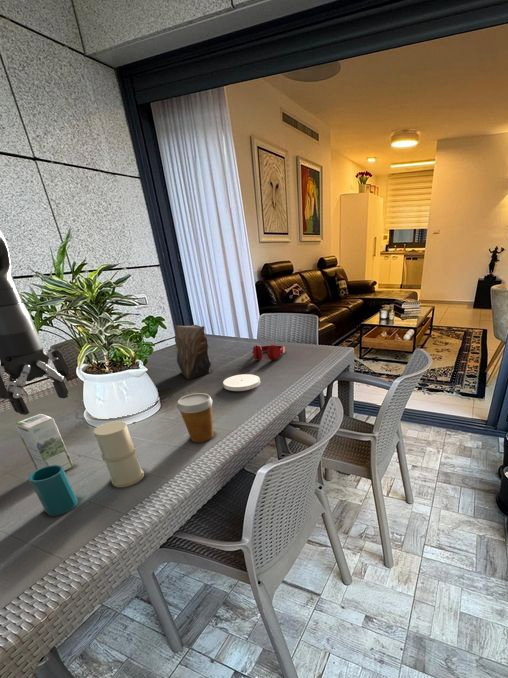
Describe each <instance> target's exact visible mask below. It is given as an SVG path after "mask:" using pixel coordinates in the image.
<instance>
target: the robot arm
mask: <svg viewBox="0 0 508 678" xmlns="http://www.w3.org/2000/svg"><path fill="white" fill-rule="evenodd" d="M49 361H51V362H52V364H53V366H54V368H52V367H50V366H49ZM66 361H67V360H66V358H65V357H64V354H63V352H62V350H60V349H52V348H51V349H48V351H47V352H45V351H44V345H43V343H42V340H41V337H40V336H39V333H38V330H37V328H36V325H35V323H34V320H33V318H32V315H31V314H30V311H29V310H28V308H27V307H26V305H25V303H24V301H23V297H22V296H21V293H20V290H19V288H18V286H17V284H16V282H15V279H14V276H13V267H12V261H11V256H10V251H9V246H8V243H7V240H6V237H5V234H4V232H3V231H2V230H1V228H0V399H2V400H9V402H10V405H11V406H12V408H13V410H14V412H16V413H17V414H20V415H23V416H27V415H29V414H30V411H29V408H28V406H27V405H26V401H24V398H23V396H21V393H22V390H23V389H24V388H25V386H26V383H27V382H32V381H34V380H35V379H40V378H43V377H44V376H45V377H46V378H48V379H49V380H52V382H51V383H52V385H53V387H54V389H55V392H56V395H57V397H58V398H60V399H67V398H69V390H68V387H67V385H66V383H65V379H66V378H67V377H70V376H71V375H72V372H71V370H70V368H69V366H68V362H66ZM4 373H5V374H7V379H6V383H5V382H4V380H3V377H4ZM5 384H6V385H5Z"/></svg>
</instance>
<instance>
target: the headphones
mask: <svg viewBox="0 0 508 678" xmlns="http://www.w3.org/2000/svg"><path fill="white" fill-rule="evenodd" d="M263 352H266V354H267V358H268V359H269V360H270V361H276V360H279V358H280V356H281V355H282V354H284V353H286V347H285V346H283V345H276V344H270V345H260V344H256V345H254V346H253V348H252V351H251V353H252V354H253V358H254V360H255V361H261V360H262V359H263Z"/></svg>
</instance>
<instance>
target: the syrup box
mask: <svg viewBox="0 0 508 678" xmlns="http://www.w3.org/2000/svg"><path fill="white" fill-rule="evenodd" d="M14 426H15V428H16V431H17V433H18V435H19V436H20V439H21V440H22V442H23V443H22V444H23V445H24V447H25V449H26V451H27V453H28V455H29V457H30V459H31V461H32V463H33V465H34V467H35V470H36V471H37V470H39V469H41V468H43V467H47V466H51V465H60V466H62V467H63V469H64V471H65V472H66V471H68V470H70V469H72V468H74V464H73V461H72V459H71V456H70V454H69V451H68V449H67V448H66V445H65V443H64V441H63V438H62V435H61V433H60V431H59V427H58V425H57V424H56V421H55V419H54V417H53V418H52V417H51V416H48V415H46V414H42V413H38V414H35V415H34V416H30V417H28V418H25V419H23V420H19V421H17V422H15V423H14Z"/></svg>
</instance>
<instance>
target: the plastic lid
mask: <svg viewBox="0 0 508 678" xmlns="http://www.w3.org/2000/svg"><path fill="white" fill-rule="evenodd" d="M222 384H223V388H224V389H225V390H227V391H231V392H244V391H249V390H252V389H255V388H257V387H258V386H259V385H261V378H260V377H259V376H258V375H255V374H251V373H250V374H249V373H243V374H236V375H232V376H229V377H227V378H225V379H224V380H223V381H222Z"/></svg>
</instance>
